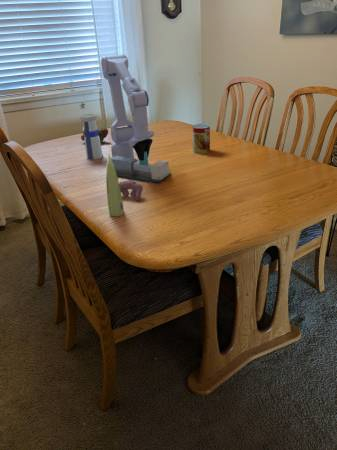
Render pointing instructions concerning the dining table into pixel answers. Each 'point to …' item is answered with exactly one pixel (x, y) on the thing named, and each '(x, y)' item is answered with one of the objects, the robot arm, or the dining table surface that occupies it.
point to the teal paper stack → (142, 164)
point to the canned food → (201, 138)
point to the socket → (160, 170)
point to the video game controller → (132, 185)
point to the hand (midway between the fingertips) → (143, 158)
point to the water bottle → (91, 135)
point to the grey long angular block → (126, 171)
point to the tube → (113, 190)
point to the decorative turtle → (101, 133)
